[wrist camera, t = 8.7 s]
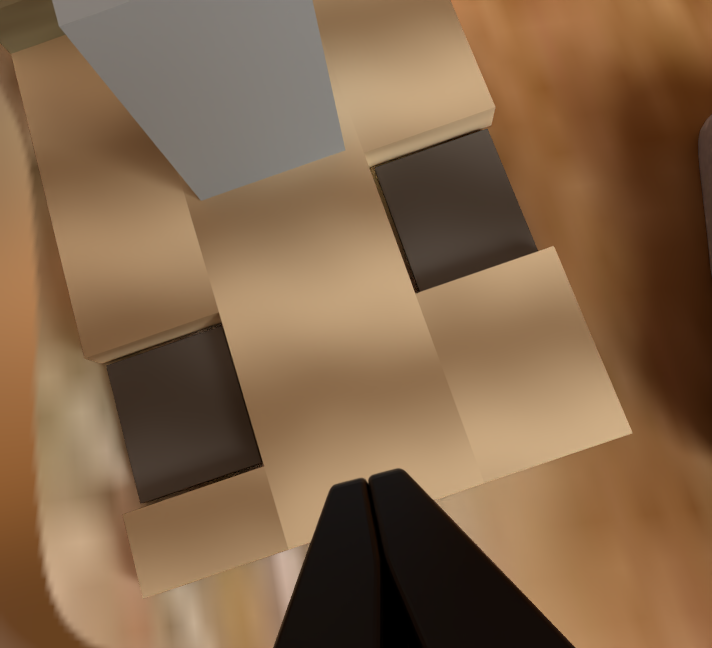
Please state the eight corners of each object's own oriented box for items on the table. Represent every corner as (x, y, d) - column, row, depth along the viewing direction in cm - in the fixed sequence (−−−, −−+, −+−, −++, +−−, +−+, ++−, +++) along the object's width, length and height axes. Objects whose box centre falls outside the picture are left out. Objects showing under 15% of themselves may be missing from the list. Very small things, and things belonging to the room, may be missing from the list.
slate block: (345, 150, 22) (299, -59, 13) (201, 200, 22) (59, 26, 13) (299, 23, 23) (228, -248, 14) (162, 72, 23) (7, -168, 14)
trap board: (620, 434, 21) (657, 429, 17) (157, 591, 21) (112, 614, 18) (402, -90, 25) (400, -168, 22) (22, 45, 25) (-33, -15, 22)
